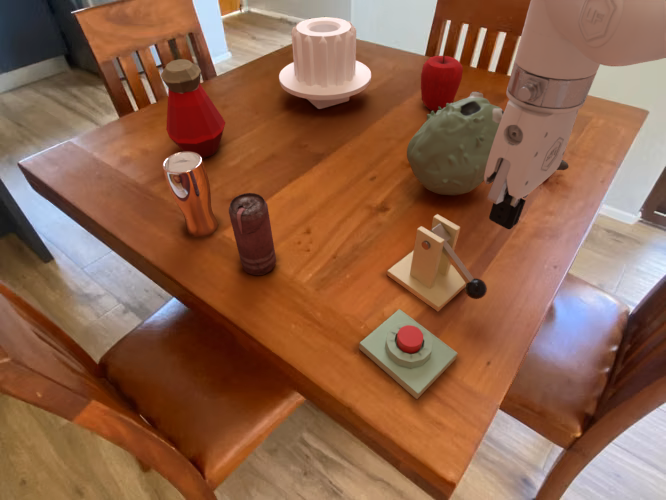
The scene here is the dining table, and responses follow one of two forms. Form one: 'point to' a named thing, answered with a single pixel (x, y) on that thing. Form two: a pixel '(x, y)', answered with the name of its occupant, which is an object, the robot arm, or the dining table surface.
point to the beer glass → (191, 191)
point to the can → (253, 233)
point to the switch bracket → (430, 267)
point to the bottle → (191, 110)
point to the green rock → (455, 145)
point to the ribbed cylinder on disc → (324, 63)
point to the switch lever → (461, 267)
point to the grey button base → (407, 354)
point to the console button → (409, 339)
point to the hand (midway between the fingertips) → (502, 221)
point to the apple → (440, 81)
